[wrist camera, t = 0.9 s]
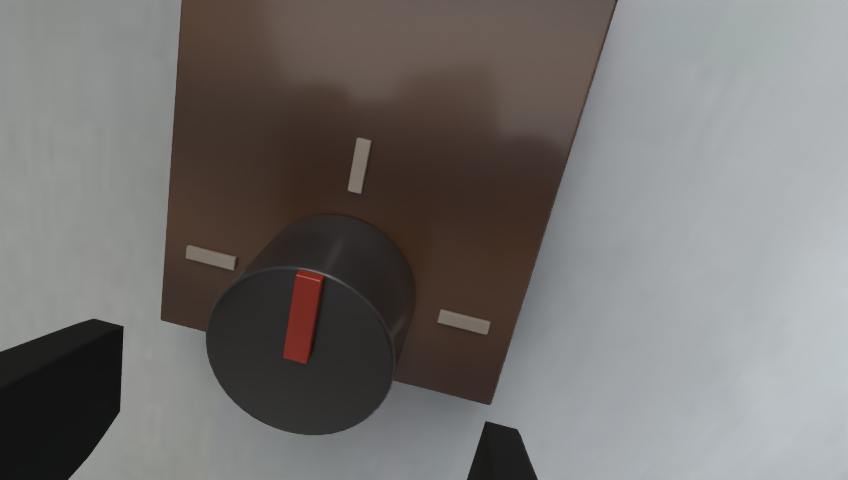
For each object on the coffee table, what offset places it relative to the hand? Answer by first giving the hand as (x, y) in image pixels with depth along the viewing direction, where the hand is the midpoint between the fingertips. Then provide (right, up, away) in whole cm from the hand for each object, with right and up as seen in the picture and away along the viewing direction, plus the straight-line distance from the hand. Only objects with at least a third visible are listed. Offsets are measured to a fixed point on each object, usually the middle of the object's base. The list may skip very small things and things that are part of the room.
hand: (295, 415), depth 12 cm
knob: (0, +2, +5) cm, 6 cm away
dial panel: (+1, +6, +7) cm, 9 cm away
